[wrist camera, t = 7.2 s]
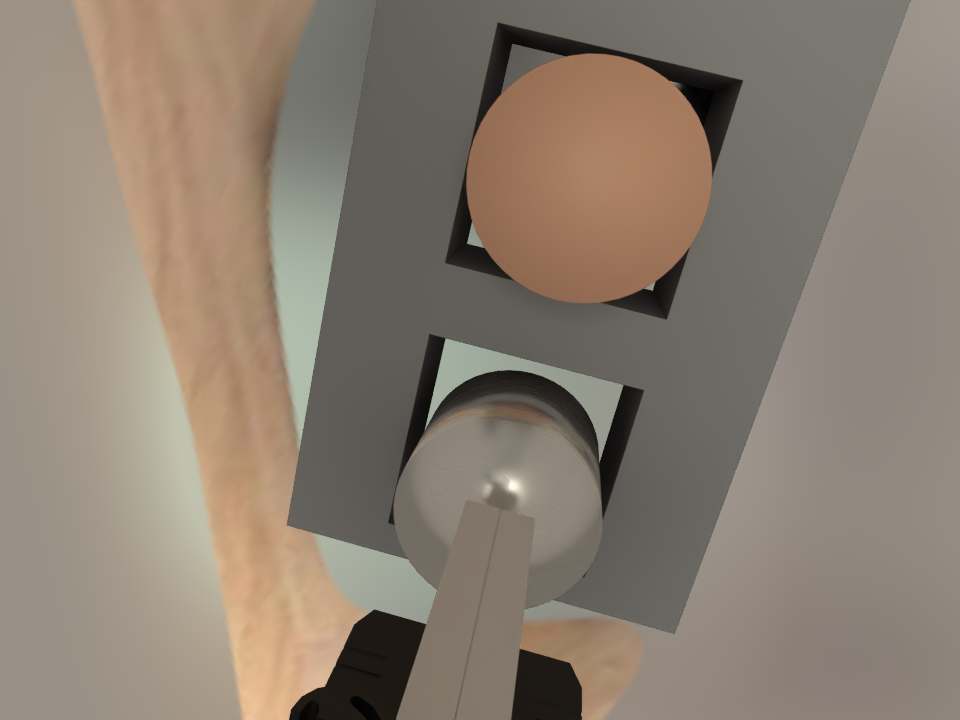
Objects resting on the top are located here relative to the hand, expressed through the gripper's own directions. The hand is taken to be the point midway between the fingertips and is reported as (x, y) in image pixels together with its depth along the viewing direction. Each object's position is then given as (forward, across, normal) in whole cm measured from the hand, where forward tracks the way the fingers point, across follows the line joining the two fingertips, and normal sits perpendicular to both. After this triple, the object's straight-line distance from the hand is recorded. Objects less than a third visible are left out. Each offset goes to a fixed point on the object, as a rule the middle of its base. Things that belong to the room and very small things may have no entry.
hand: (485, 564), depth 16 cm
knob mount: (+9, 0, +8) cm, 12 cm away
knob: (+6, 0, 0) cm, 6 cm away
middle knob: (+6, 0, +8) cm, 10 cm away
